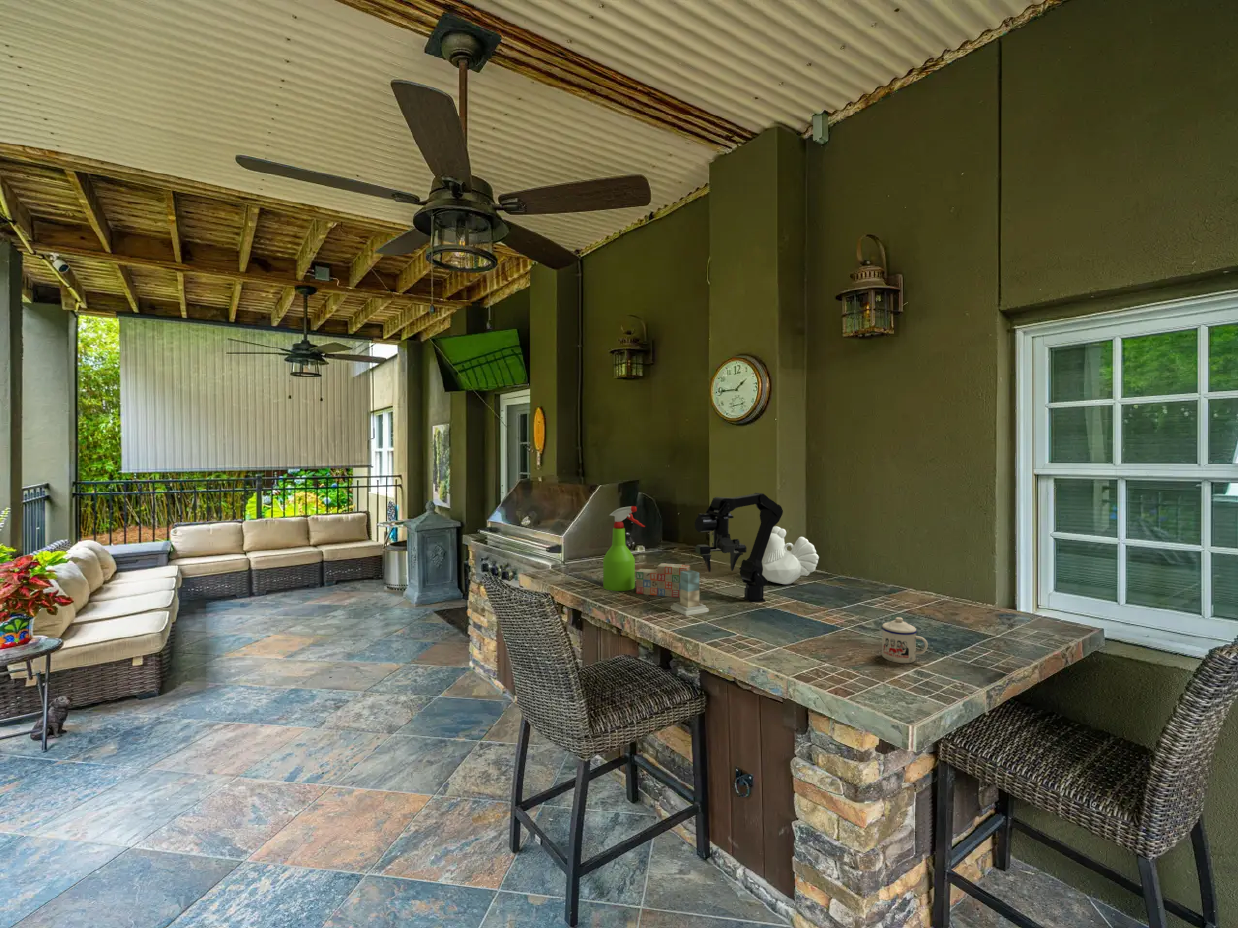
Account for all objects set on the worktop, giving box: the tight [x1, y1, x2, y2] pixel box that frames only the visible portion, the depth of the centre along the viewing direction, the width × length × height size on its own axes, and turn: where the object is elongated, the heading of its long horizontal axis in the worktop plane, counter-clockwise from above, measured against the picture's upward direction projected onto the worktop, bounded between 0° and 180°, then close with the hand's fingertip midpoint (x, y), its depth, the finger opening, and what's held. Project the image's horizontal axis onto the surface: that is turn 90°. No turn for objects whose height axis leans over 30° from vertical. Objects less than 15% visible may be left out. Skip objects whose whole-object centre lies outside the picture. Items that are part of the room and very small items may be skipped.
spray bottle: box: [602, 505, 646, 592], centre depth 257 cm, size 14×18×35 cm
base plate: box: [670, 601, 710, 616], centre depth 222 cm, size 10×10×2 cm
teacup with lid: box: [881, 616, 929, 664], centre depth 171 cm, size 12×9×12 cm
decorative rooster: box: [762, 525, 820, 585], centre depth 263 cm, size 25×16×25 cm, turn 44°
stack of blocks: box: [635, 562, 691, 599], centre depth 246 cm, size 21×6×12 cm, turn 70°
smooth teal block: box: [679, 569, 700, 608], centre depth 222 cm, size 5×5×13 cm
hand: (720, 571), depth 229 cm, fingers open, 9 cm apart
